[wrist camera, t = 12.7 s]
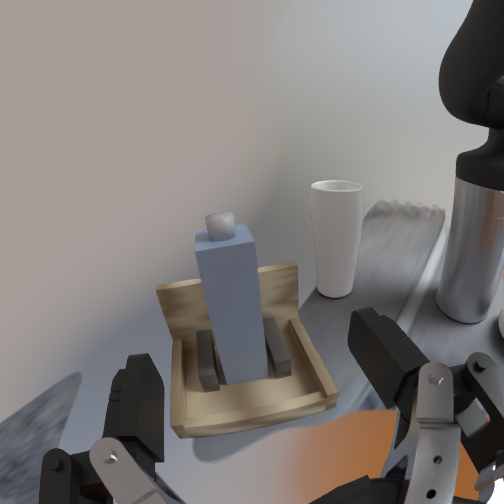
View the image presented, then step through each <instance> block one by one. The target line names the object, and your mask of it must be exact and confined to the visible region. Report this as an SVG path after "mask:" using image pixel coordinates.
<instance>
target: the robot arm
mask: <svg viewBox="0 0 504 504" xmlns="http://www.w3.org/2000/svg"><path fill="white" fill-rule="evenodd" d="M439 92H440V96H441V99H442V102H443V104H444V106H445V107H446V109H447V110H448V111H449V112H450V114H451V115H453V116H454V117H456V118H458V119H460V120H462V121H465V122H467V123H471V124H476V125H480V126H484V127H488V128H489V136H488V140H487V142H486V143H485V144H484V145H482V146H481V147H479V148H477V149H474V150H471V151H467V152H463V153H461V154H459V155H458V157H457V161H456V177H455V191H454V203H453V212H452V220H451V227H450V233H449V239H448V245H447V250H446V255H445V260H444V265H443V269H442V273H441V278H440V282H439V286H438V290H437V294H436V302H437V305H438V306H439V308H440V309H441V310H442V311H443V312H444V313H445V314H446V315H448V316H449V317H451V318H453V319H455V320H457V321H460V322H464V323H477V322H480V321H482V320H483V319H485V318H486V316H487V314H488V312H489V309H490V307H491V304H492V301H493V299H494V296H495V293H496V290H497V287H498V284H499V281H500V278H501V275H502V271H503V268H504V0H473V3H472V5H471V8H470V10H469V12H468V14H467V17H466V18H465V20H464V22H463V24H462V25H461V27H460V29H459V30H458V32H457V34H456V35H455V37H454V39H453V40H452V42H451V43H450V45H449V47H448V49H447V51H446V53H445V55H444V57H443V60H442V63H441V67H440V72H439ZM348 346H349V349H350V351H351V353H352V355H353V356H354V358H355V359H356V361H357V362H358V364H359V365H360V367H361V369H362V370H363V372H364V373H365V375H366V376H367V378H368V380H369V381H370V383H371V384H372V386H373V387H374V389H375V391H376V392H377V394H378V395H379V397H380V399H381V400H382V402H383V403H384V405H385V407H386V408H387V409H389V408H392V407H394V406H396V405H397V407H398V408H399V411H398V414H397V419H396V425H395V431H394V436H393V441H392V445H391V449H390V453H389V455H388V457H387V459H386V461H385V464H384V466H383V469H382V472H381V476H380V478H373V479H369V477H368V475H366V476H364V477H361V478H359V479H357V480H354V481H352V482H349V483H347V484H344V485H342V486H339V487H337V488H335V489H334V490H332V491H330V492H329V493H327V494H325V495H323V496H322V497H320V498H318V499H316V500H315V501H313V502H311V503H309V504H504V373H503V372H502V371H501V370H500V368H499V367H498V366H497V365H496V364H495V362H494V361H493V360H492V359H491V358H490V357H489V356H488V355H486V354H484V353H481V352H476V353H473V354H471V355H470V356H469V358H468V360H467V361H466V363H465V364H462V365H457V366H453V367H447V366H446V365H444V364H442V363H440V362H430V361H429V360H428V359H427V358H426V357H425V355H424V354H423V353H422V352H421V351H420V350H419V348H418V347H417V346H416V345H415V344H414V343H413V342H412V340H411V339H410V338H409V337H407V335H406V334H405V332H404V331H403V330H401V328H400V327H399V326H398V325H397V324H396V322H395V321H394V320H392V319H390V318H388V317H386V316H385V315H381V316H379V315H378V314H377V312H376V311H375V310H374V309H373V308H372V307H366V308H363V309H359V310H356V311H353V312H352V314H351V320H350V327H349V334H348ZM476 397H477V398H478V400H479V401H480V403H481V404H482V405H483V407H484V408H485V410H486V411H487V413H488V414H489V417H490V422H489V421H488V420H487V418H486V417H485V415H484V414H483V412H482V411H481V409H480V408H479V407H478V405H477V404H476V402H475V401H474V400H475V399H476ZM460 441H461V443H462V444H463V446H464V448H465V450H466V451H467V453H468V455H469V457H470V459H471V461H472V462H473V464H474V466H475V468H476V470H477V472H478V474H479V476H478V480H477V482H476V483H475V485H474V489H475V490H476V491H479V498H478V501H475V500H471V499H465V498H461V497H457V496H453V495H454V489H455V483H456V477H457V470H458V461H459V452H460ZM155 462H164V385H163V381H162V378H161V376H160V374H159V372H158V371H157V369H156V367H155V365H154V363H153V361H152V359H151V357H150V356H149V354H147V353H146V354H138V355H130V356H128V359H127V364H126V369H120V370H119V371H118V372H117V374H116V376H115V377H114V379H113V381H112V386H111V393H110V396H109V403H108V407H107V413H106V419H105V426H104V431H103V436H102V439H99V440H98V441H96V442H95V443H94V444H93V445H92V447H91V449H90V450H89V451H86V452H82V453H77V454H72V455H69V454H68V453H66V452H65V451H64V450H62V449H58V448H55V449H51V450H50V451H48V452H47V453H46V454H45V456H44V458H43V462H42V470H41V479H40V491H39V504H113V498H114V499H115V501H116V502H117V503H118V504H186V503H185V502H184V501H183V500H182V499H181V498H180V497H179V496H178V495H177V494H176V493H175V492H174V491H173V490H172V489H171V488H170V487H169V486H168V485H167V484H166V483H165V482H164V480H163V479H162V478H161V477H160V476H159V475H158V474H157V473H156V472H155Z"/></svg>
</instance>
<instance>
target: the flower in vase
mask: <svg viewBox="0 0 504 504" xmlns="http://www.w3.org/2000/svg"><path fill="white" fill-rule="evenodd" d="M498 320H499V328H500V332H501V334H502V336H503V338H504V307H503V309H502V310H501V311H500V313H499V318H498Z"/></svg>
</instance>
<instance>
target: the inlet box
mask: <svg viewBox="0 0 504 504" xmlns="http://www.w3.org/2000/svg"><path fill="white" fill-rule="evenodd" d="M297 270H298V268H297V264H296V263H295V262H294V261H292V262H287V263H282V264H277V265H271V266H265V267H260V268H258V277H259V286H260V296H261V306H262V315H263V325H264V335H265V345H266V355H267V365H268V375H269V377H268V378H263V379H259V380H254V381H249V382H244V383H239V384H233V385H227V382H226V378H225V375H224V371H223V367H222V364H221V360H220V356H219V353H218V349H217V345H216V341H215V337H214V333H213V329H212V325H211V321H210V317H209V313H208V309H207V304H206V300H205V296H204V291H203V287H202V282H201V278H197V279H191V280H186V281H180V282H174V283H168V284H161V285H157V287H156V293H157V296H158V299H159V302H160V305H161V308H162V311H163V314H164V317H165V320H166V323H167V325H168V328H169V331H170V334H171V336H172V339H173V347H172V369H171V410H170V411H171V413H170V414H171V415H170V416H171V418H170V423H171V427H172V429H173V430H174V432H175V433H176V434H177V436H178V437H179V438H180V439H182V438H194V437H203V436H212V435H219V434H226V433H233V432H239V431H245V430H250V429H255V428H260V427H265V426H269V425H274V424H278V423H282V422H286V421H290V420H294V419H297V418H301V417H304V416H308V415H311V414H315V413H318V412H321V411H324V410H327V409H330V408H333V407H335V406H336V402H337V398H338V394H339V391H338V389H337V387H336V385H335V384H334V382H333V380H332V378H331V376H330V374H329V372H328V371H327V369H326V367H325V365H324V363H323V361H322V360H321V358H320V356H319V354H318V352H317V350H316V349H315V347H314V345H313V343H312V341H311V339H310V338H309V336H308V334H307V332H306V330H305V328H304V327H303V325H302V323H301V321H300V319H299V317H298V271H297Z"/></svg>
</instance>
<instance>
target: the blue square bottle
mask: <svg viewBox="0 0 504 504" xmlns="http://www.w3.org/2000/svg"><path fill="white" fill-rule="evenodd" d="M205 220H206V226H207V230H202V231H196V232H195V254H196V259H197V264H198V269H199V273H200V278H201V282H202V287H203V291H204V296H205V300H206V304H207V309H208V313H209V317H210V321H211V325H212V329H213V333H214V337H215V341H216V345H217V349H218V353H219V356H220V360H221V364H222V367H223V371H224V375H225V378H226V382H227V385H233V384H239V383H244V382H249V381H254V380H259V379H263V378H268V377H269V375H268V365H267V355H266V345H265V335H264V325H263V315H262V306H261V296H260V286H259V277H258V267H257V258H256V248H255V241H254V239H253V237H252V235H251V234H250V232H249V230H248V228H247V226H246V225H245V223H244V224H238V225H235V223H234V216H233V213H230V212H219V213H214V214H211V215H209V216H207V217H206V218H205Z"/></svg>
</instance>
